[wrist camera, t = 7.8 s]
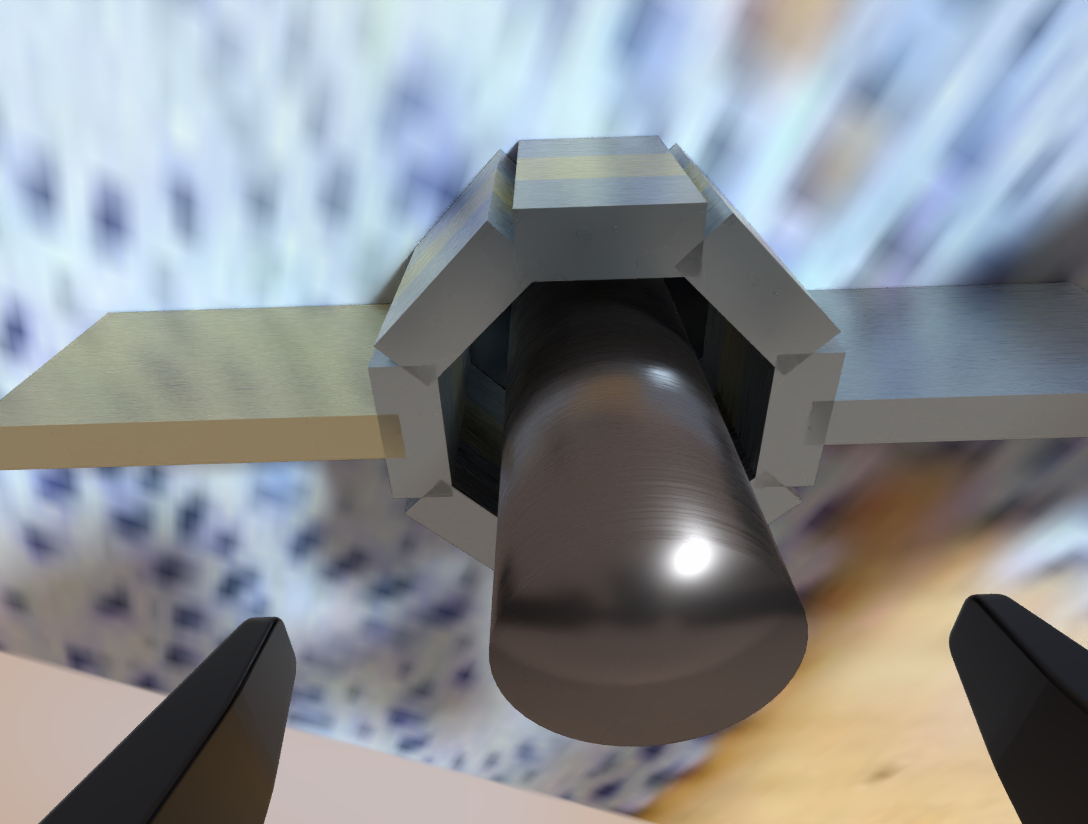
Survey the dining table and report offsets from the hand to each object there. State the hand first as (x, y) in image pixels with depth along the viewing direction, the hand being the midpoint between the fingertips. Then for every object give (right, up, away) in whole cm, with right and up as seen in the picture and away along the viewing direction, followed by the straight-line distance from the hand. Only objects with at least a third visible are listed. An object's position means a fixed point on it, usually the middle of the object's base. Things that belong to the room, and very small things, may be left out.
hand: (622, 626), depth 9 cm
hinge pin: (0, +5, +8) cm, 10 cm away
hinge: (0, +5, +8) cm, 10 cm away
